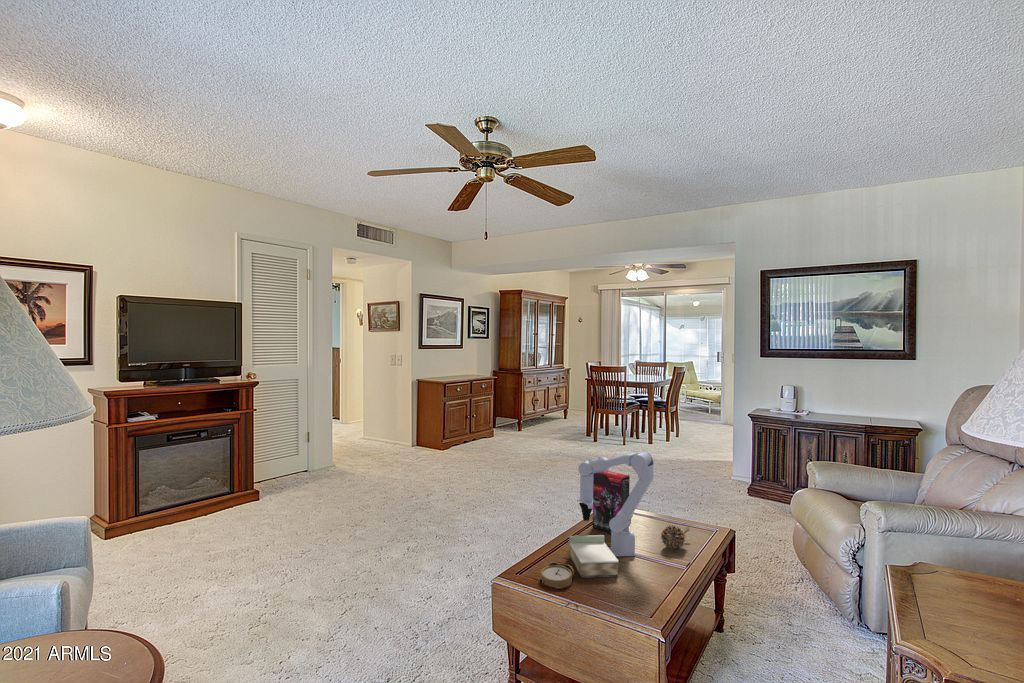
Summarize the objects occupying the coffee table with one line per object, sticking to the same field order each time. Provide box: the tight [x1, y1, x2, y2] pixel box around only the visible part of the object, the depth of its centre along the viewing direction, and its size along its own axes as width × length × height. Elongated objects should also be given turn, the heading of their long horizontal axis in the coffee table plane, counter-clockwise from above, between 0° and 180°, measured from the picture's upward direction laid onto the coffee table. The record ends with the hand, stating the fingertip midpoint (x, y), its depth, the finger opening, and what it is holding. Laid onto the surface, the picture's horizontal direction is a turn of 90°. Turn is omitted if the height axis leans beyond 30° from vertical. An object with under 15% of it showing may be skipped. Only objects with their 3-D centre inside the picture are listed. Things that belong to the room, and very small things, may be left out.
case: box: [569, 547, 619, 579], centre depth 199 cm, size 14×18×5 cm
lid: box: [568, 534, 620, 564], centre depth 199 cm, size 14×20×6 cm
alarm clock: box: [540, 561, 575, 588], centre depth 187 cm, size 11×5×15 cm
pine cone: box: [660, 524, 691, 550], centre depth 222 cm, size 22×10×10 cm, turn 140°
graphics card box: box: [591, 470, 631, 534], centre depth 239 cm, size 17×7×27 cm, turn 43°
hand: (586, 520), depth 222 cm, fingers closed
